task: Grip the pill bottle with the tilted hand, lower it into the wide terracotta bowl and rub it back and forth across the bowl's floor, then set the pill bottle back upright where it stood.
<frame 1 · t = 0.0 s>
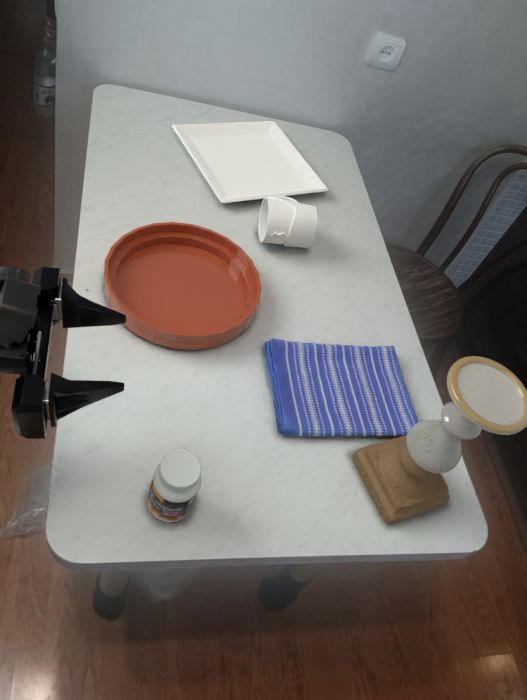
hand: (125, 351, 59), 17 cm above the table, tool horizontal, fingers open, 9 cm apart
dish towel: (337, 391, 86), on the table
pill bottle: (170, 501, 68), on the table
bowl: (182, 291, 90), on the table
candle holder: (397, 479, 79), on the table
mug: (280, 235, 106), on the table
plate: (248, 165, 117), on the table
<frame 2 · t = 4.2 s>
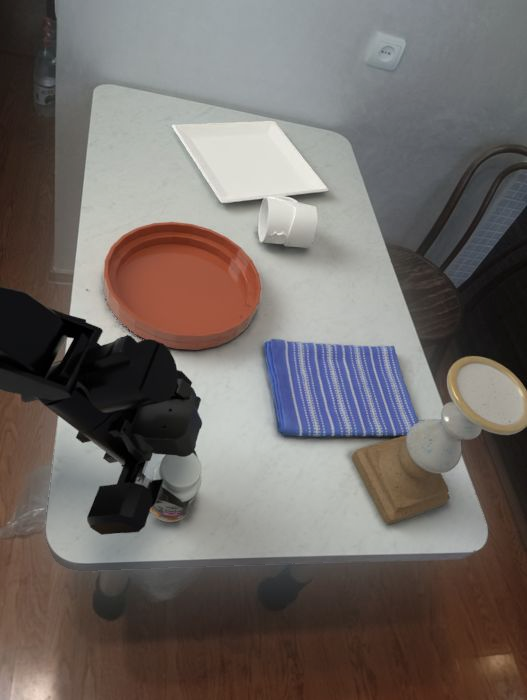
hand: (188, 483, 63), 7 cm above the table, tool tilted 45°, fingers closed on pill bottle, 6 cm apart
pill bottle: (170, 501, 68), on the table, touching gripper
everything else where it was.
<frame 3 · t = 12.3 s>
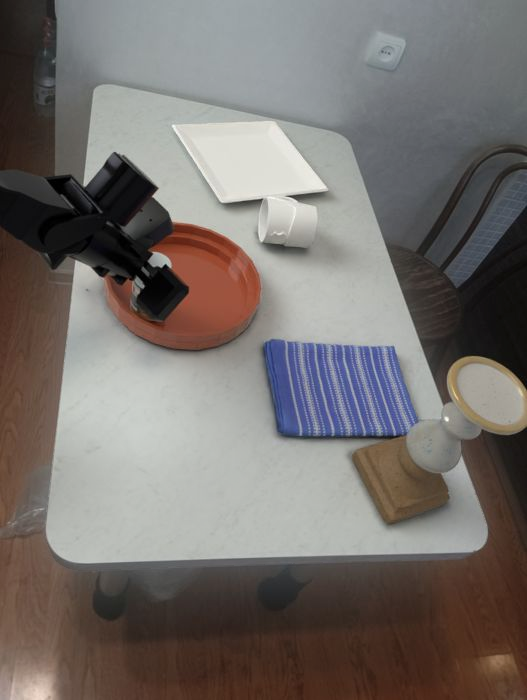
hand: (160, 276, 80), 8 cm above the table, tool tilted 45°, fingers closed on pill bottle, 6 cm apart
pill bottle: (148, 309, 85), point 1 cm above the table, touching gripper
everything else where it was.
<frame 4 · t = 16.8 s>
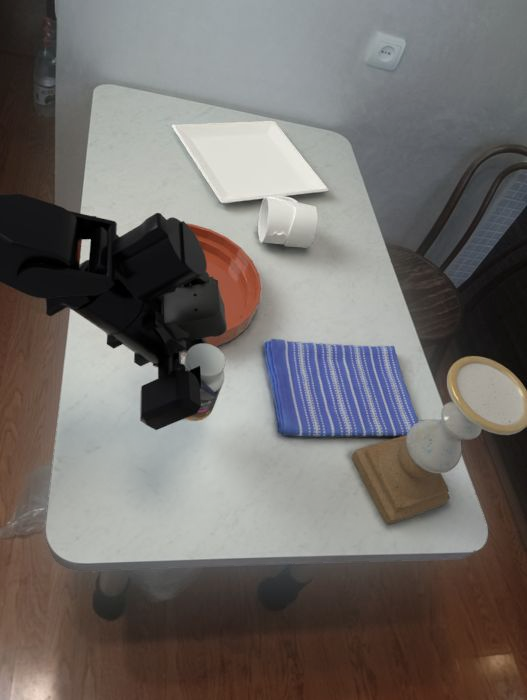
hand: (211, 376, 65), 13 cm above the table, tool tilted 45°, fingers closed on pill bottle, 6 cm apart
pill bottle: (191, 404, 70), point 6 cm above the table, touching gripper
everything else where it was.
when the fingers open (7 cm above the table, at t = 20.6 s): pill bottle stays where it is, on the table.
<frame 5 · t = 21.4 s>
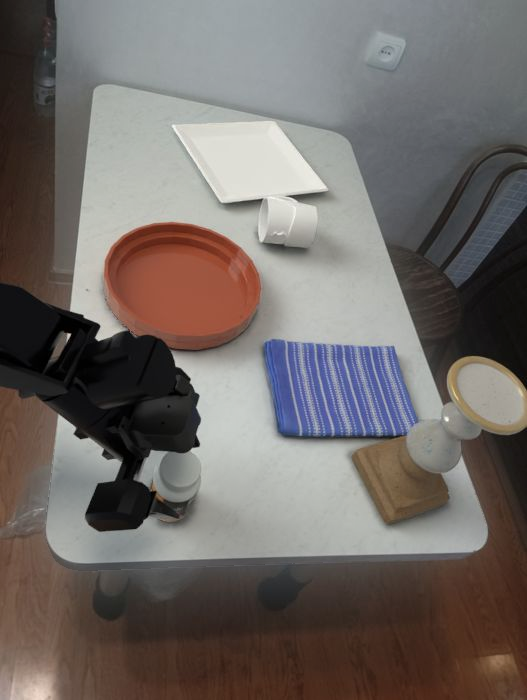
hand: (187, 480, 63), 7 cm above the table, tool tilted 45°, fingers open, 9 cm apart
pill bottle: (169, 501, 68), on the table
everything else where it was.
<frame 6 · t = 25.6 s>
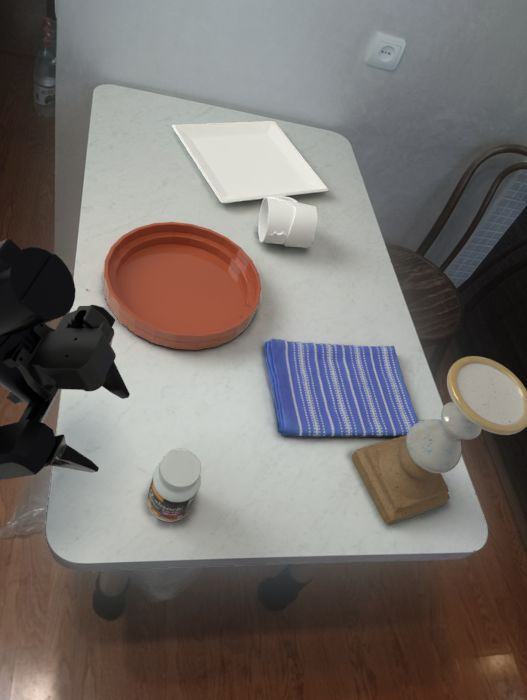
hand: (111, 431, 57), 14 cm above the table, tool tilted 45°, fingers open, 9 cm apart
nothing on the table moved.
at the end: pill bottle inside the target area (0.1 cm from its centre), on the table; pill bottle tilted 0°; pill bottle touching table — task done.
